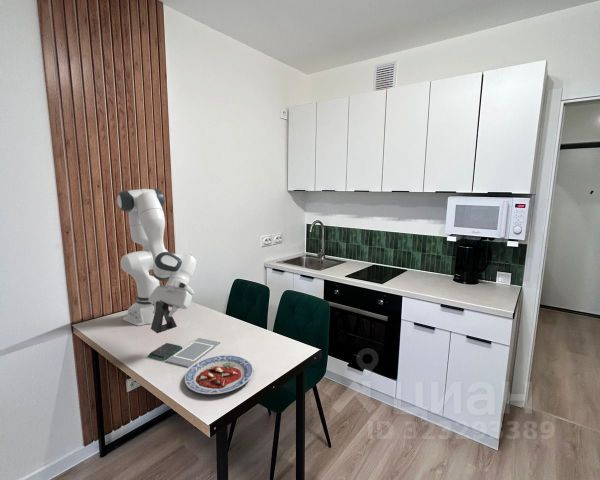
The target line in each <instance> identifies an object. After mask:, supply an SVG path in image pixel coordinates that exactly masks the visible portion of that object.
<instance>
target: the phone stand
mask: <svg viewBox="0 0 600 480" xmlns="http://www.w3.org/2000/svg"><path fill="white" fill-rule="evenodd" d="M160 301H161V300H160ZM161 302H163V301H161ZM161 302H159V301H157V302H156V310H155V314H154V318H153V322H152V324H151V327H150V330H152V331H153V332H155V333H156V334H160V333H162V332H166V331H169V330H172V329H174V328H177V327H178V325H177V323H176V321H175V319H174V317H173V316H172V317H168V316H167V313H168V311H169V312H170V311H171V310H170V309H169V306H168V304H167V303H165V302H163V303H161ZM163 316H164V319H163ZM164 320H165V322H166V323H164V324H163V321H164Z"/></svg>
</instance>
